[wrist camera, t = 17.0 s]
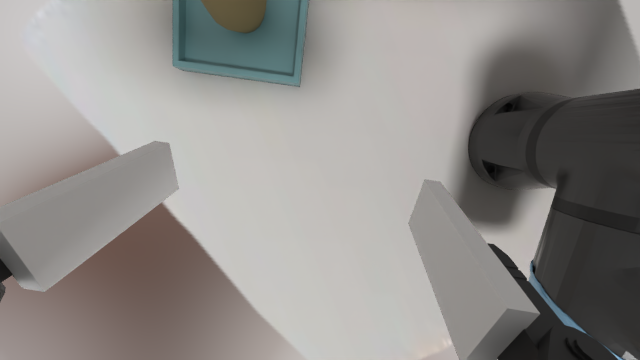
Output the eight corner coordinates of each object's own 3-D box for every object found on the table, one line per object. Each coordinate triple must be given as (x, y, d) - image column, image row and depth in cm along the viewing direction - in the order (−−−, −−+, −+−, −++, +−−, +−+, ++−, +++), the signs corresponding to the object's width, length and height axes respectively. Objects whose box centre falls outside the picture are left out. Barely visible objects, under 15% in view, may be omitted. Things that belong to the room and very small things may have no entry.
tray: (314, -49, 32) (313, -64, 30) (299, 86, 36) (298, 83, 33) (184, -70, 31) (172, -87, 29) (182, 70, 35) (172, 65, 33)
